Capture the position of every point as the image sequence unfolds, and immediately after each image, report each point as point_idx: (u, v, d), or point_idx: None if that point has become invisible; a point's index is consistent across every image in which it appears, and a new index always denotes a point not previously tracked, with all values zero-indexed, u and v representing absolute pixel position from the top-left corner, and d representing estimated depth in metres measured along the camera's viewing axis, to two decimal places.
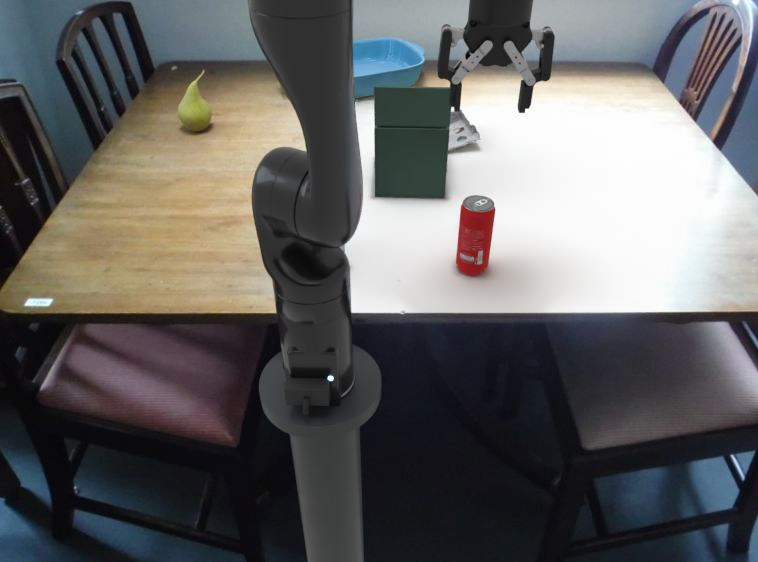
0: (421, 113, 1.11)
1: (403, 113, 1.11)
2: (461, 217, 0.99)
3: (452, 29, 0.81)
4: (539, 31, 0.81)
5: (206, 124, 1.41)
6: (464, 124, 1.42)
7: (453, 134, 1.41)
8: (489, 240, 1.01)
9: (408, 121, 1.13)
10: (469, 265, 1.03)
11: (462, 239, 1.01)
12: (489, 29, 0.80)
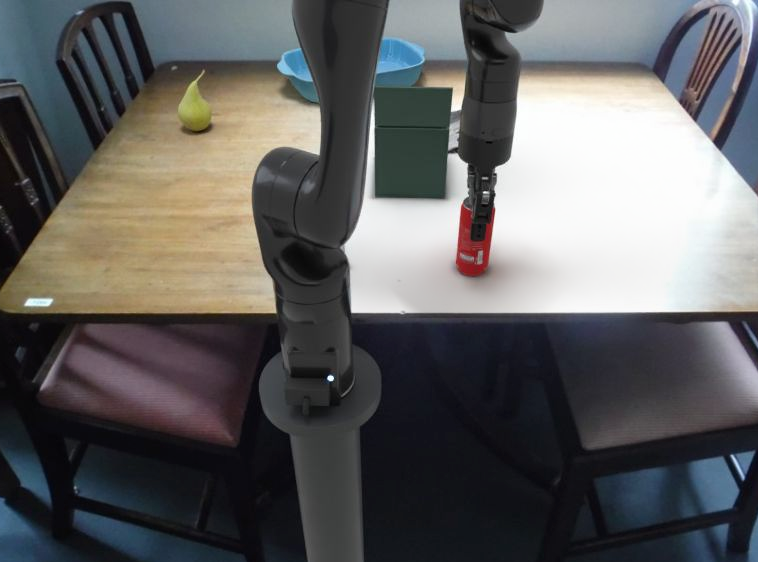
0: (421, 113, 1.11)
1: (403, 113, 1.11)
2: (461, 217, 0.99)
3: None
4: (483, 186, 0.91)
5: (206, 124, 1.41)
6: None
7: (453, 134, 1.41)
8: (489, 240, 1.01)
9: (408, 121, 1.13)
10: (469, 265, 1.03)
11: (462, 239, 1.01)
12: None
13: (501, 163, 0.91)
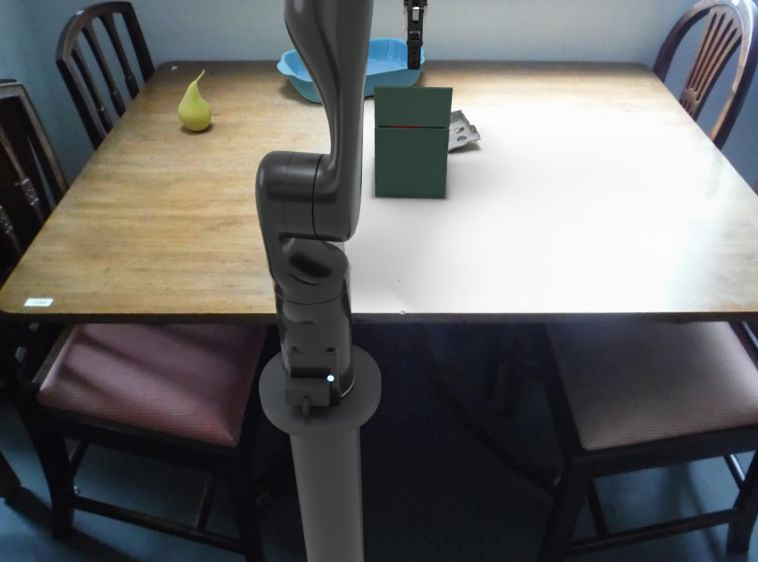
0: (421, 113, 1.11)
1: (403, 113, 1.11)
2: None
3: None
4: (414, 5, 1.03)
5: (206, 124, 1.41)
6: (464, 124, 1.42)
7: (453, 134, 1.41)
8: None
9: (408, 121, 1.13)
10: None
11: None
12: None
13: None
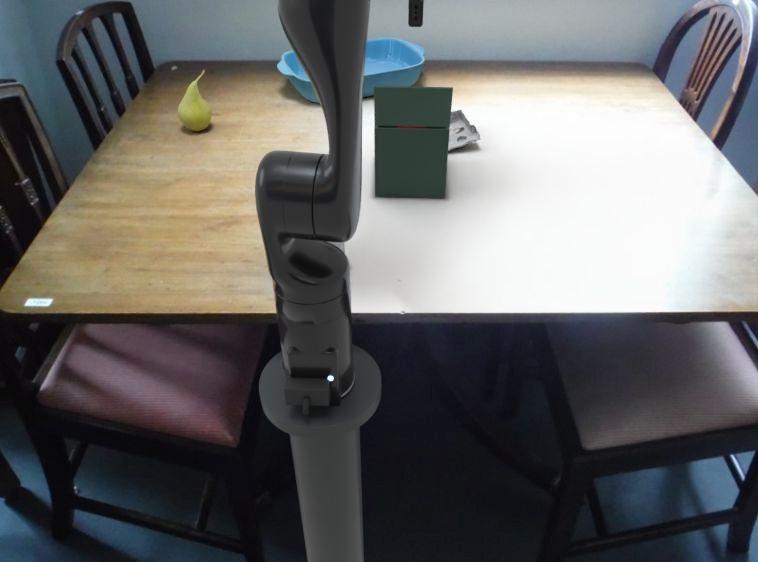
0: (421, 113, 1.11)
1: (403, 113, 1.11)
2: None
3: None
4: None
5: (206, 124, 1.41)
6: (464, 124, 1.42)
7: (453, 134, 1.41)
8: None
9: (408, 121, 1.13)
10: None
11: None
12: None
13: None
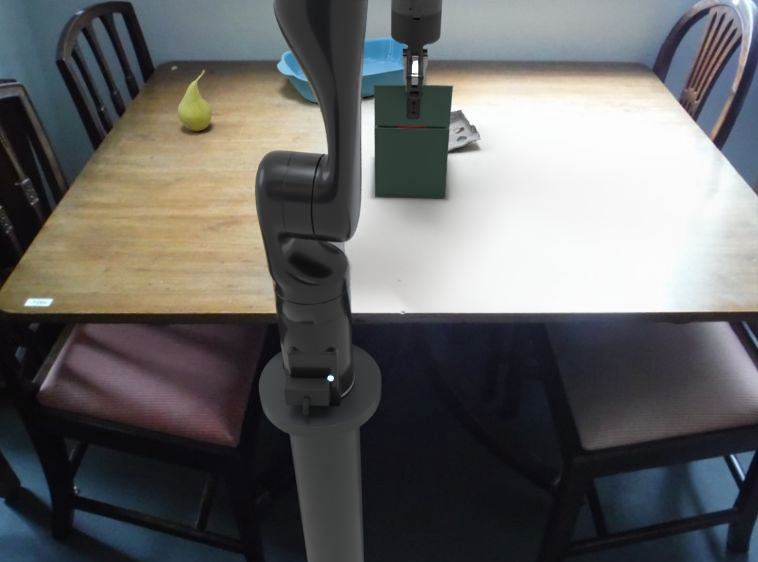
0: (421, 112, 1.11)
1: (403, 112, 1.12)
2: None
3: None
4: (413, 68, 0.98)
5: (206, 124, 1.41)
6: (464, 124, 1.42)
7: (453, 134, 1.41)
8: None
9: (408, 121, 1.13)
10: None
11: None
12: None
13: (430, 41, 0.98)
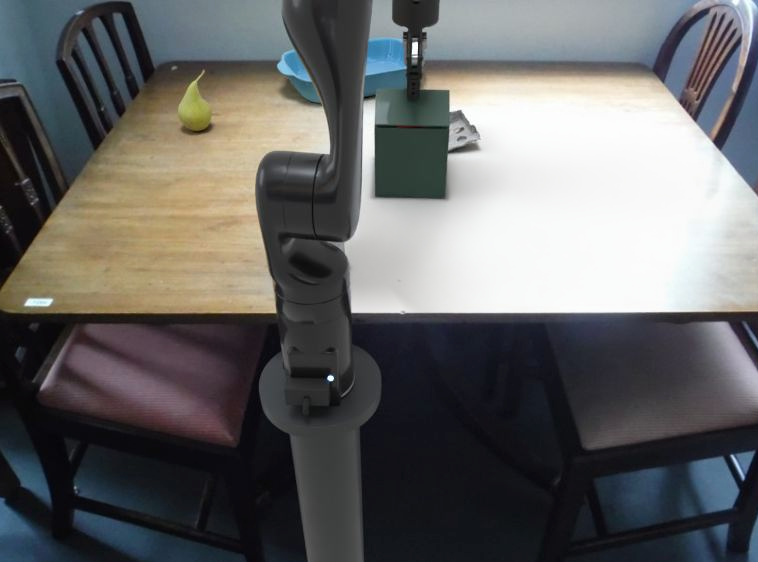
0: (421, 112, 1.14)
1: (403, 112, 1.14)
2: None
3: None
4: (413, 50, 1.04)
5: (206, 124, 1.41)
6: (464, 124, 1.42)
7: (453, 134, 1.41)
8: None
9: (408, 120, 1.14)
10: None
11: None
12: None
13: (428, 24, 1.04)
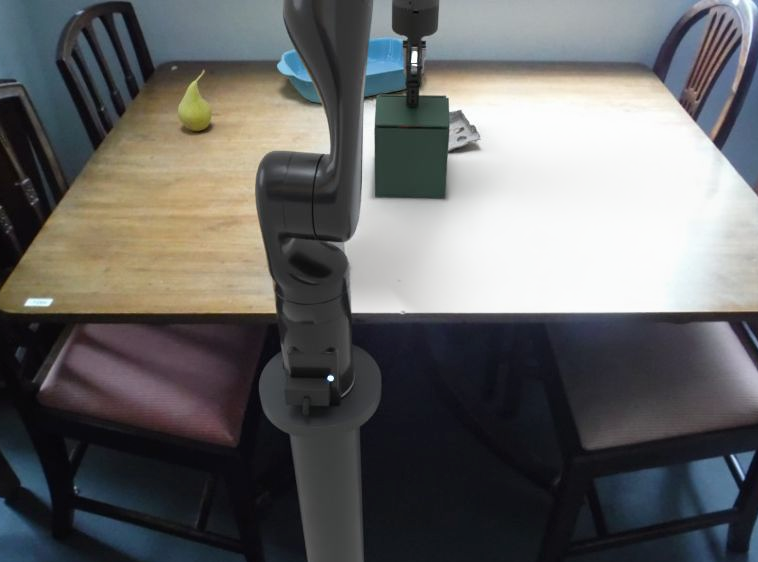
0: (420, 115, 1.15)
1: (403, 114, 1.15)
2: None
3: None
4: (412, 59, 1.06)
5: (206, 124, 1.41)
6: (464, 124, 1.42)
7: (453, 134, 1.41)
8: None
9: (408, 121, 1.14)
10: None
11: None
12: None
13: (428, 33, 1.05)
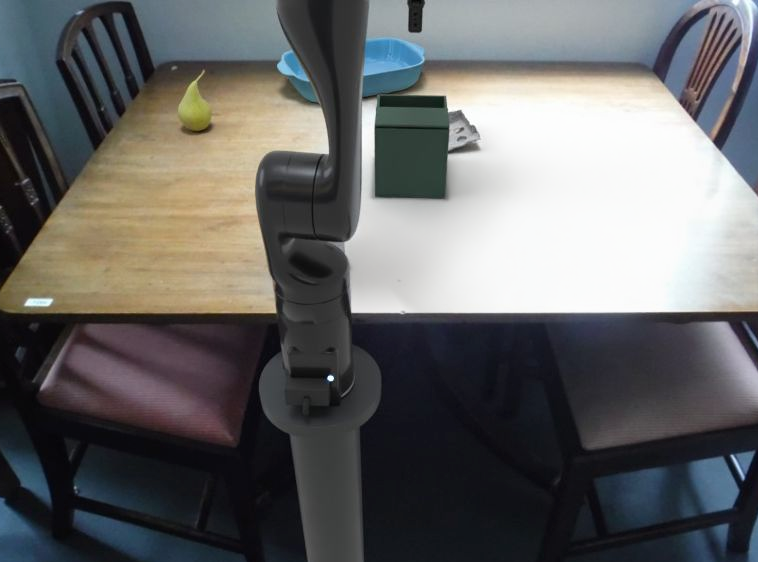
0: (420, 118, 1.15)
1: (403, 118, 1.15)
2: None
3: None
4: None
5: (206, 124, 1.41)
6: (464, 124, 1.42)
7: (453, 134, 1.41)
8: None
9: (408, 122, 1.14)
10: None
11: None
12: None
13: None
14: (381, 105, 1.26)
